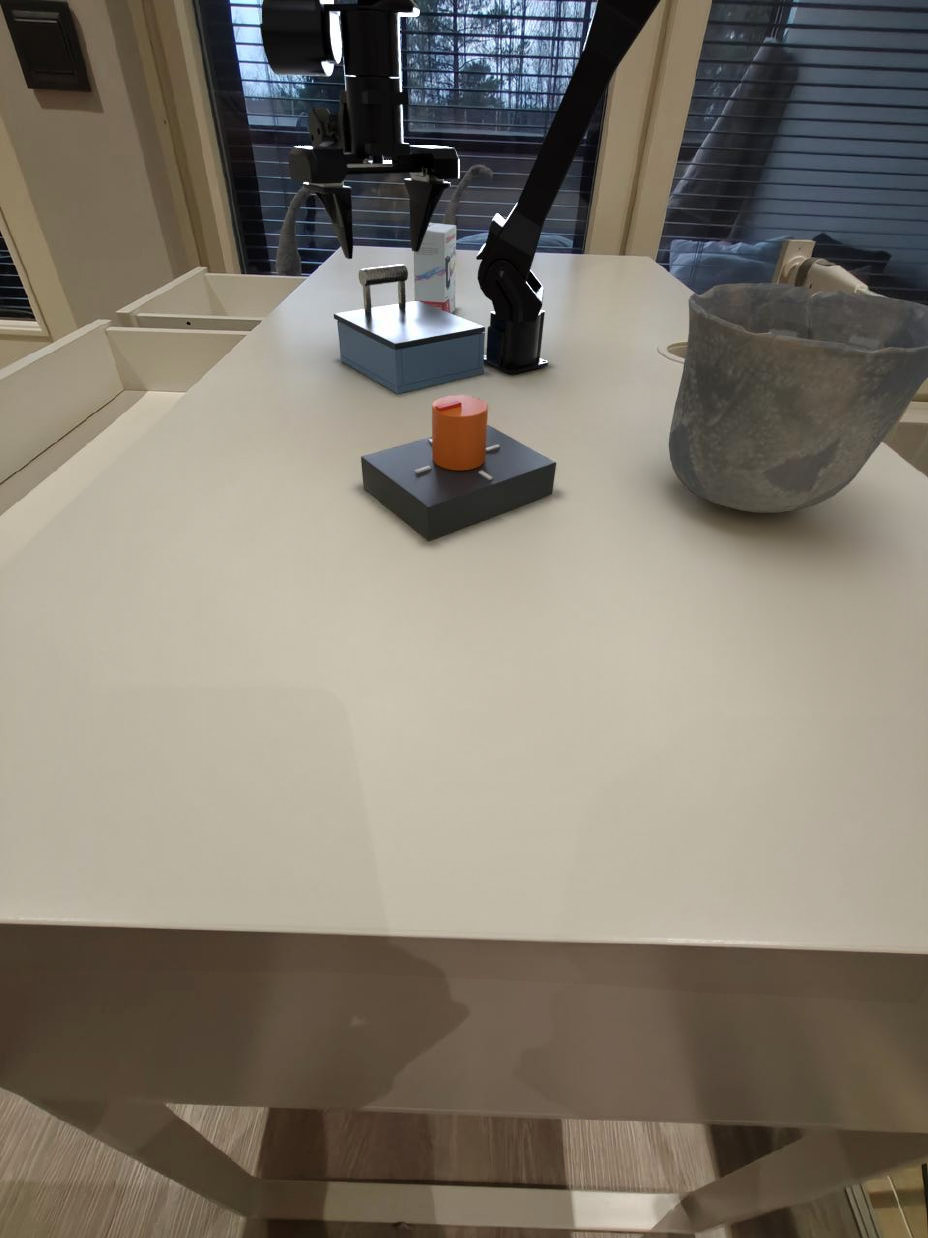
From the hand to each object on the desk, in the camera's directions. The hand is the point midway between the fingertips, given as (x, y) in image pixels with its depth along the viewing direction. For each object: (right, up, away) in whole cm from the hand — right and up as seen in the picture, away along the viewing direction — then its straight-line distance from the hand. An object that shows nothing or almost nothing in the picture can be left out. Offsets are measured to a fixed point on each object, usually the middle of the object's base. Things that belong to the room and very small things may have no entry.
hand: (383, 254), depth 71 cm
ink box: (+5, +5, +24) cm, 25 cm away
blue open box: (+3, -12, +4) cm, 13 cm away
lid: (+3, -8, +1) cm, 8 cm away
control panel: (+9, -32, -20) cm, 39 cm away
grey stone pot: (+35, -33, -18) cm, 51 cm away
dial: (+9, -30, -22) cm, 38 cm away
